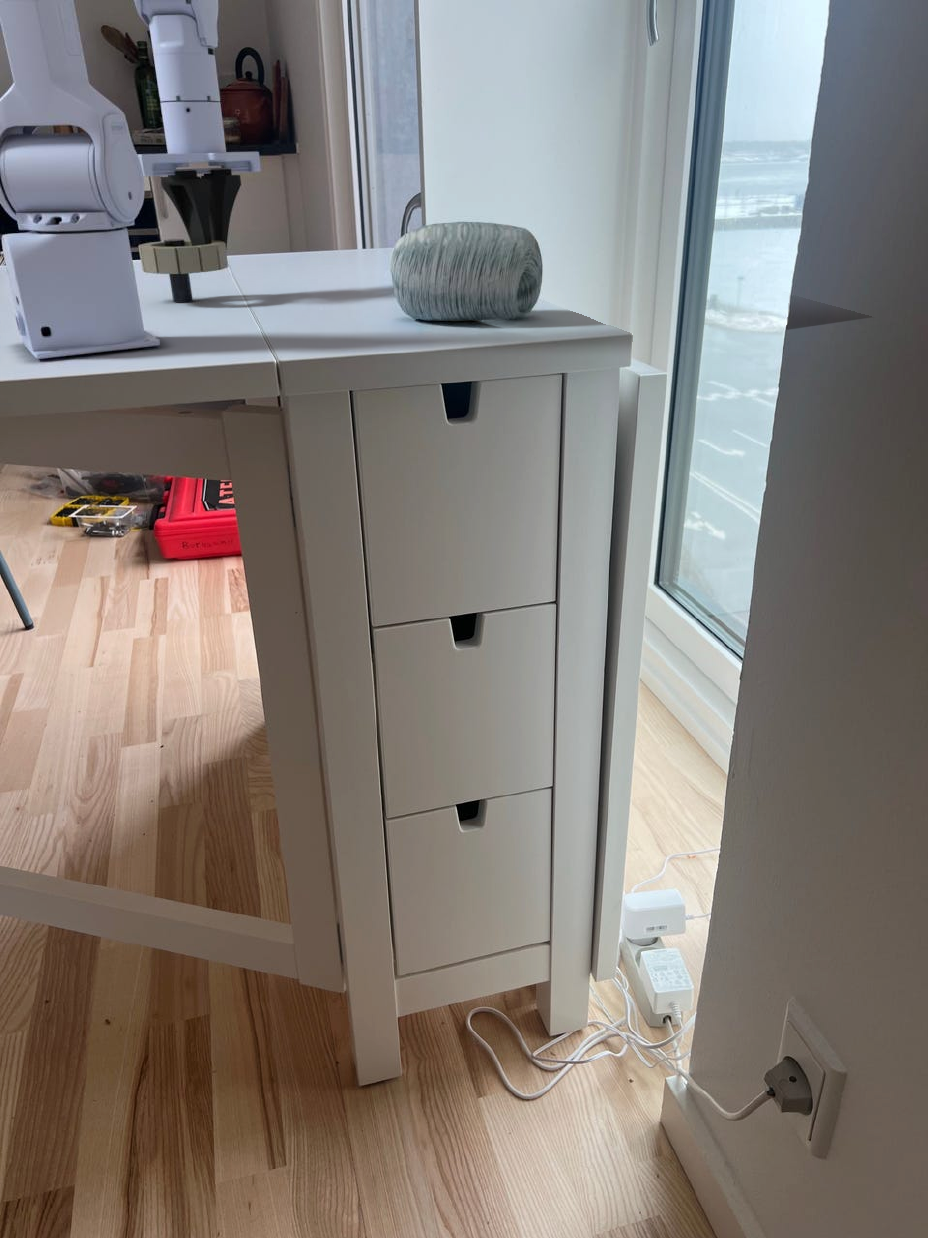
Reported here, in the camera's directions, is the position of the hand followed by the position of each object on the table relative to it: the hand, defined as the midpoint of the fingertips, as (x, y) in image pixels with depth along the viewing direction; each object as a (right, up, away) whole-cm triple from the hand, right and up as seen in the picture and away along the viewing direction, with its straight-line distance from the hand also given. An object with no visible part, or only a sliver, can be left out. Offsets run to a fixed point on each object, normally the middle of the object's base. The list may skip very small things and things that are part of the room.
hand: (210, 251), depth 96 cm
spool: (+27, -11, -12) cm, 32 cm away
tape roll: (-2, -2, -2) cm, 4 cm away
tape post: (-3, -5, +1) cm, 6 cm away
